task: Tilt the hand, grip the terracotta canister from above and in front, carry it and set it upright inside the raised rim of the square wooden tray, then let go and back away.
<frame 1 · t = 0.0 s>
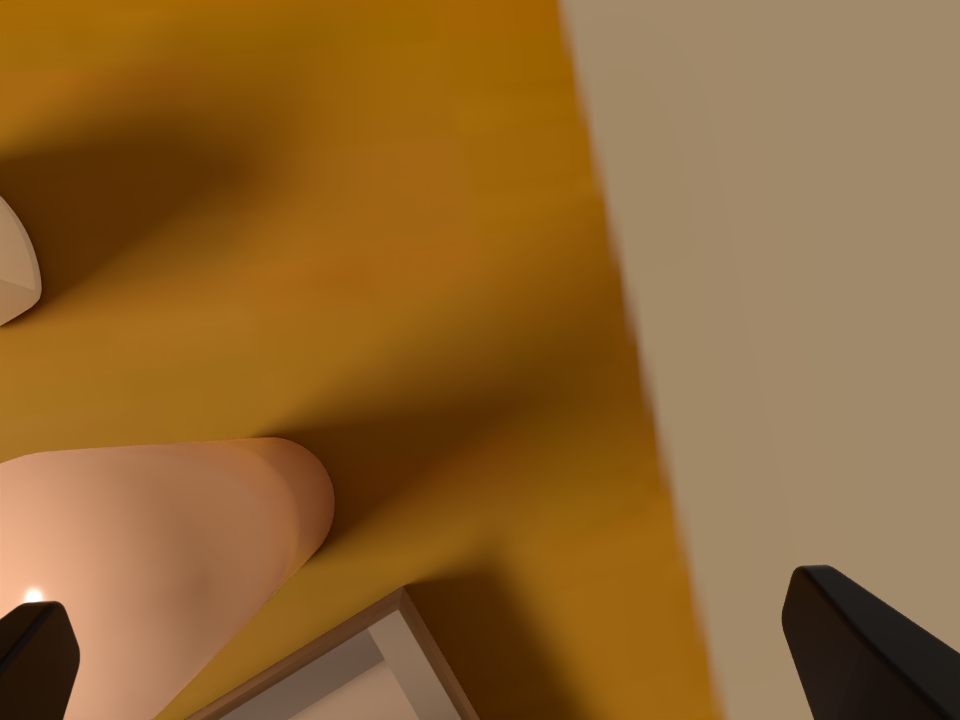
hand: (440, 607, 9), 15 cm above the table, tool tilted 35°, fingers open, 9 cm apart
terracotta canister: (266, 505, 23), on the table
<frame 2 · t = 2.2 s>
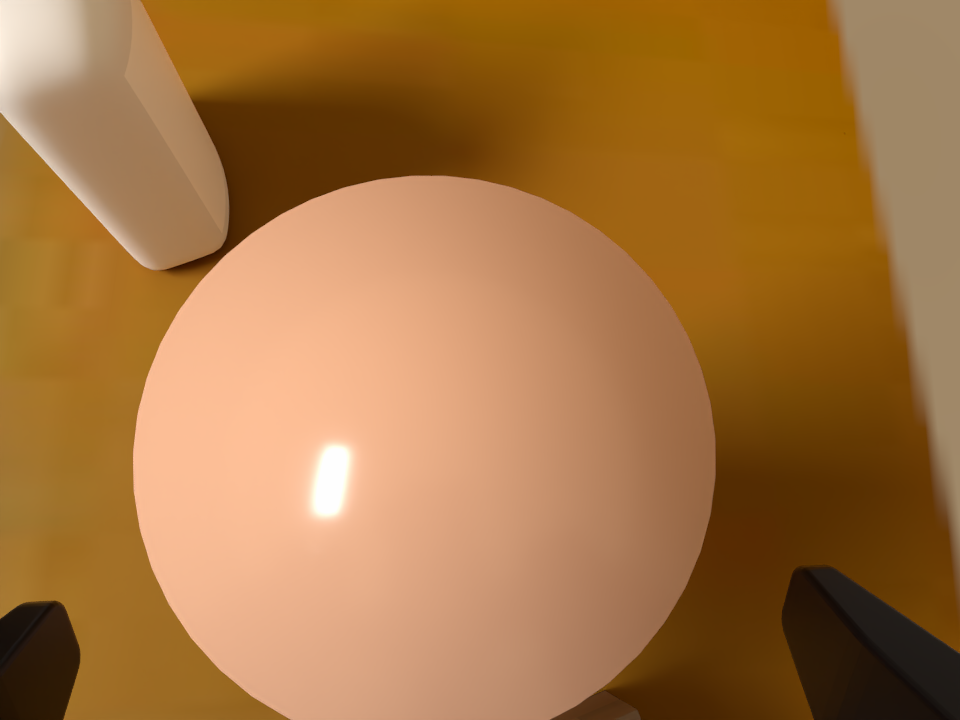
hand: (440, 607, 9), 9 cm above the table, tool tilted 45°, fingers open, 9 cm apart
terracotta canister: (439, 543, 18), on the table
eye dropper bottle: (167, 189, 21), on the table
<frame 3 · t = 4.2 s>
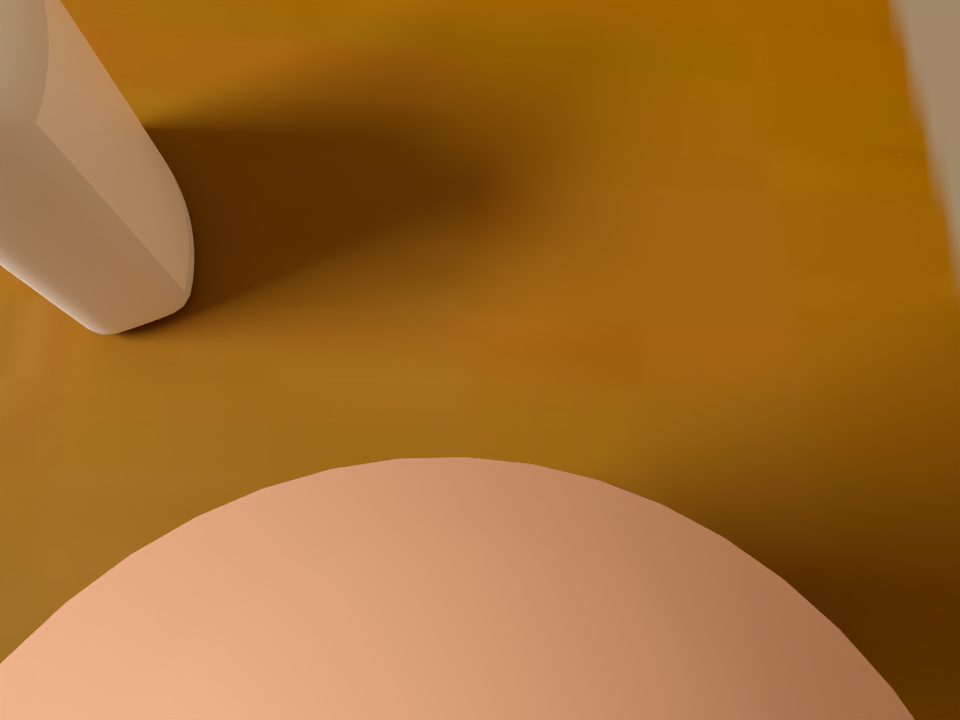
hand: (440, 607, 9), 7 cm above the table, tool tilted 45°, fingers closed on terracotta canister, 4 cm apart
terracotta canister: (443, 670, 15), on the table, touching gripper
eye dropper bottle: (122, 233, 18), on the table
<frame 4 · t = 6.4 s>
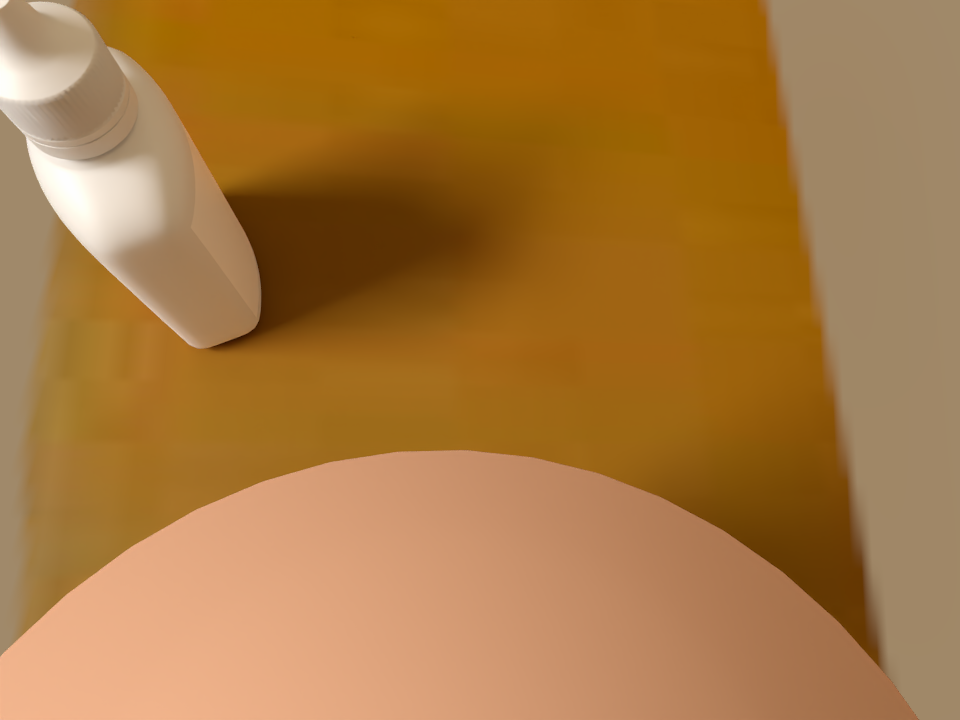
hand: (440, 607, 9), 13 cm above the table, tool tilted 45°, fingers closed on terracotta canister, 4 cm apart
terracotta canister: (443, 668, 15), point 7 cm above the table, touching gripper
eye dropper bottle: (207, 274, 24), on the table
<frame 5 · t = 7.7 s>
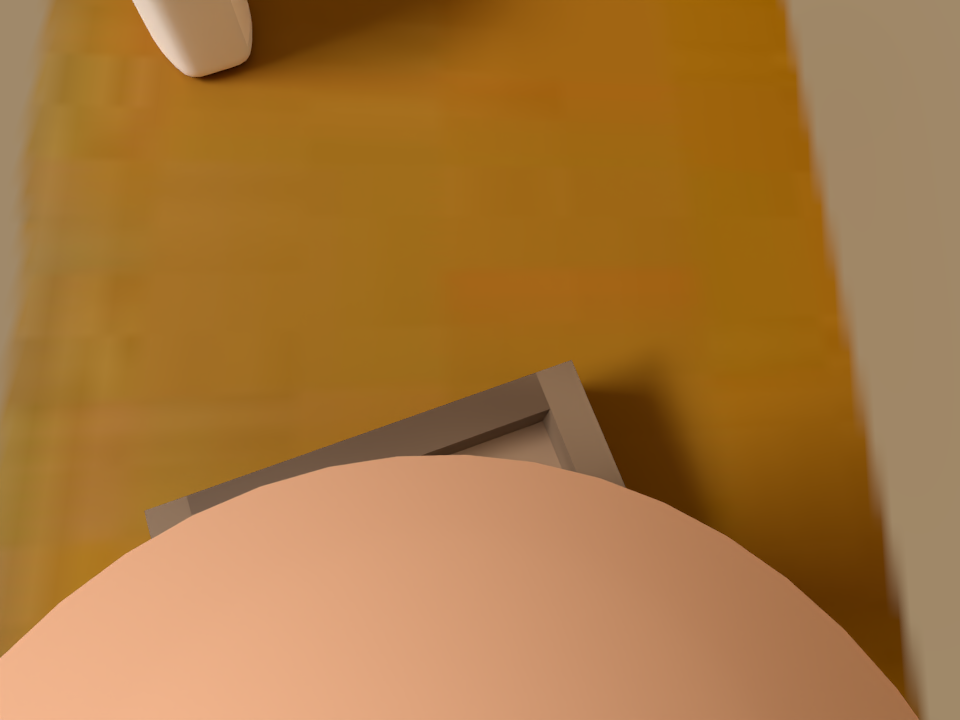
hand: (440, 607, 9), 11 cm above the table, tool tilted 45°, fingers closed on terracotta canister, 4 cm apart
terracotta canister: (443, 670, 15), point 5 cm above the table, touching gripper
square wooden tray: (442, 644, 19), on the table
eye dropper bottle: (200, 18, 25), on the table
when the fingers open (9 cm above the table, at t = 8.8 s): terracotta canister drops 1 cm, resting on square wooden tray.
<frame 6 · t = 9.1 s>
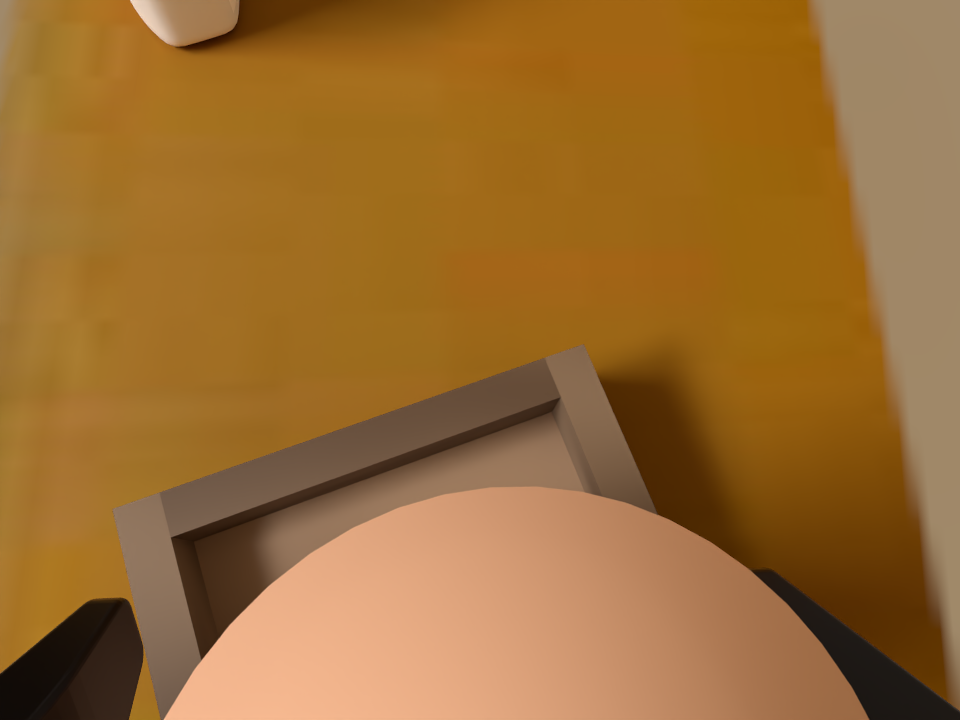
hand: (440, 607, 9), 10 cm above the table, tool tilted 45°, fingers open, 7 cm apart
terracotta canister: (441, 666, 16), point 2 cm above the table, touching square wooden tray
square wooden tray: (442, 656, 18), on the table
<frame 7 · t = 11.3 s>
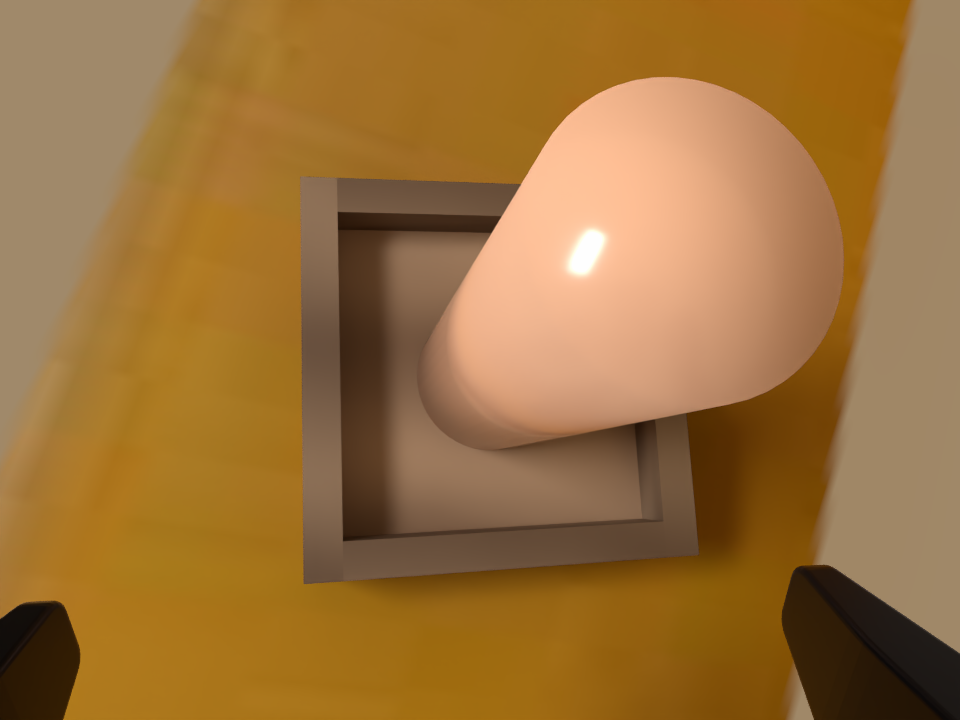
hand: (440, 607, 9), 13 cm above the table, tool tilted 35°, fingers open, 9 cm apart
terracotta canister: (489, 377, 22), point 2 cm above the table, touching square wooden tray
square wooden tray: (481, 381, 23), on the table
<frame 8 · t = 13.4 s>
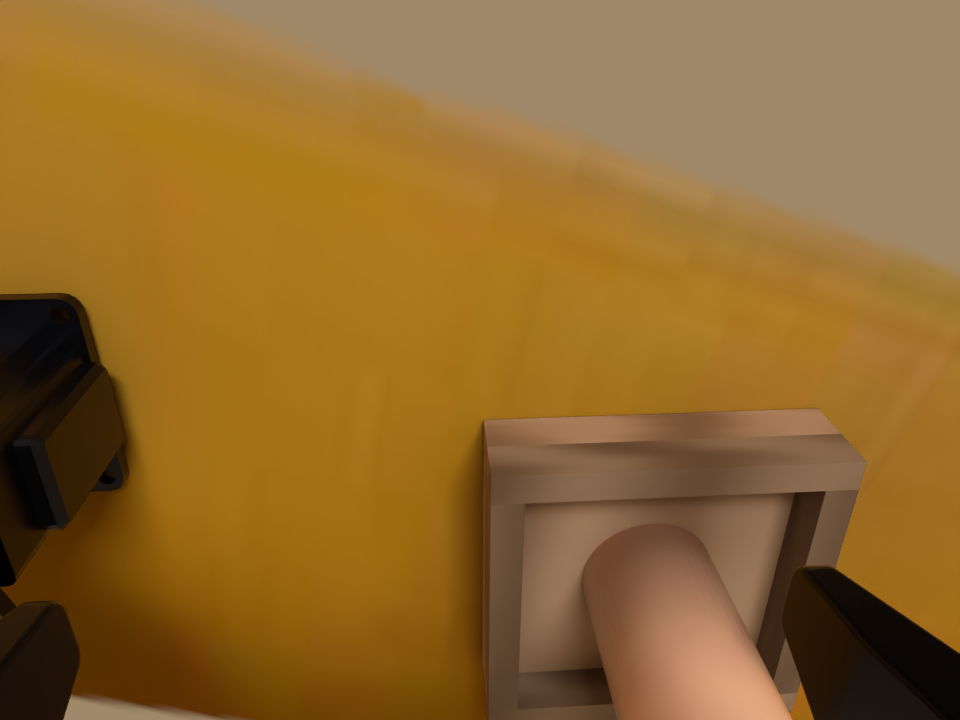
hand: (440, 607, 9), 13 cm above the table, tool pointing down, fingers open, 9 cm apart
terracotta canister: (646, 574, 25), point 2 cm above the table, touching square wooden tray
square wooden tray: (635, 544, 26), on the table
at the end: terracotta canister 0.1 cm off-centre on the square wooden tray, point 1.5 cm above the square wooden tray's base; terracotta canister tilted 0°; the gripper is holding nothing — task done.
